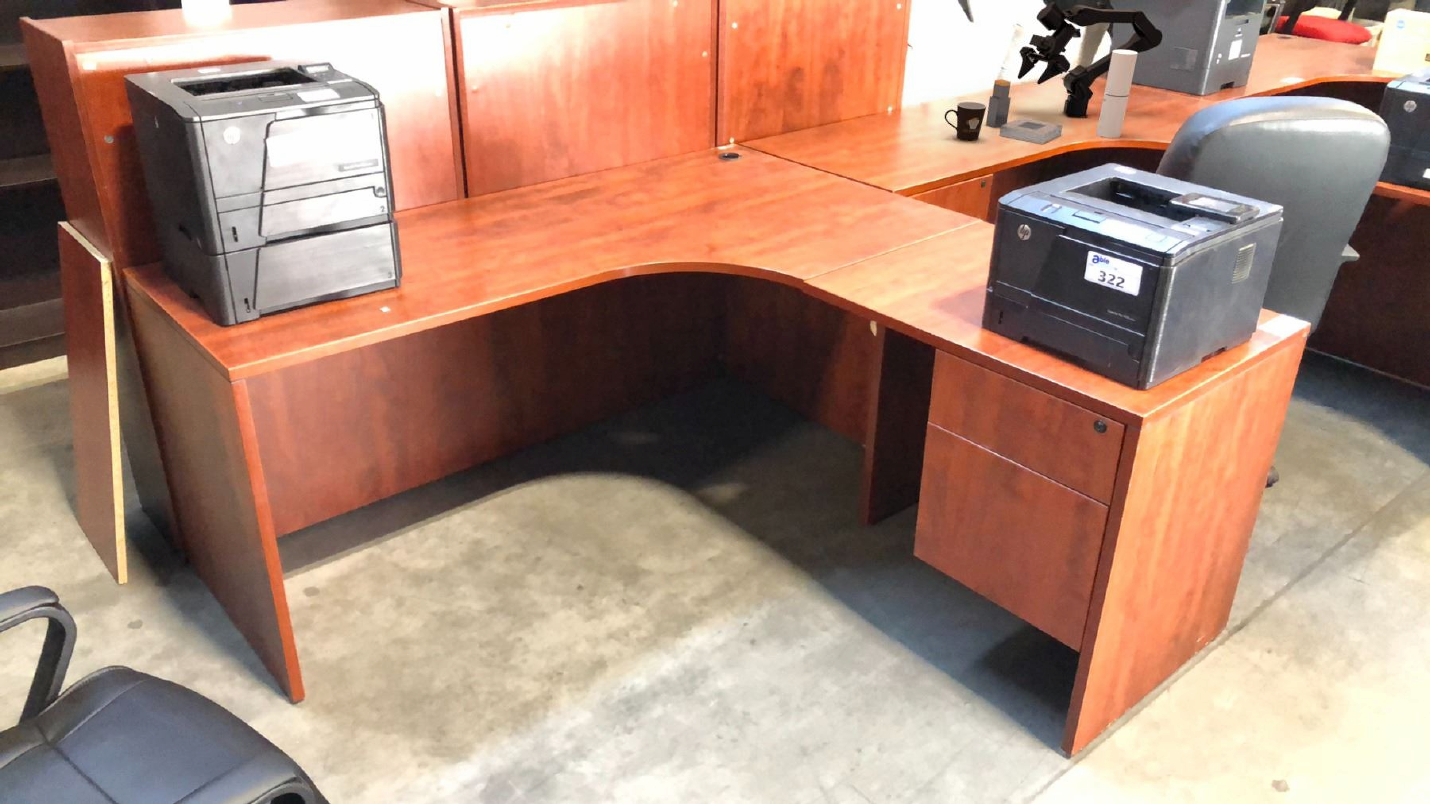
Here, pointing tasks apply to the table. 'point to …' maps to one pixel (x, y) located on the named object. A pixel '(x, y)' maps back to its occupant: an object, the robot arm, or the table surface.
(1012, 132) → the silver square socket base
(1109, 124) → the cylindrical container
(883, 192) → the table surface
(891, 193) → the table surface
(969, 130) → the coffee mug
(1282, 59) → the table surface
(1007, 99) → the grey orange-tipped tall block
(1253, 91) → the table surface
